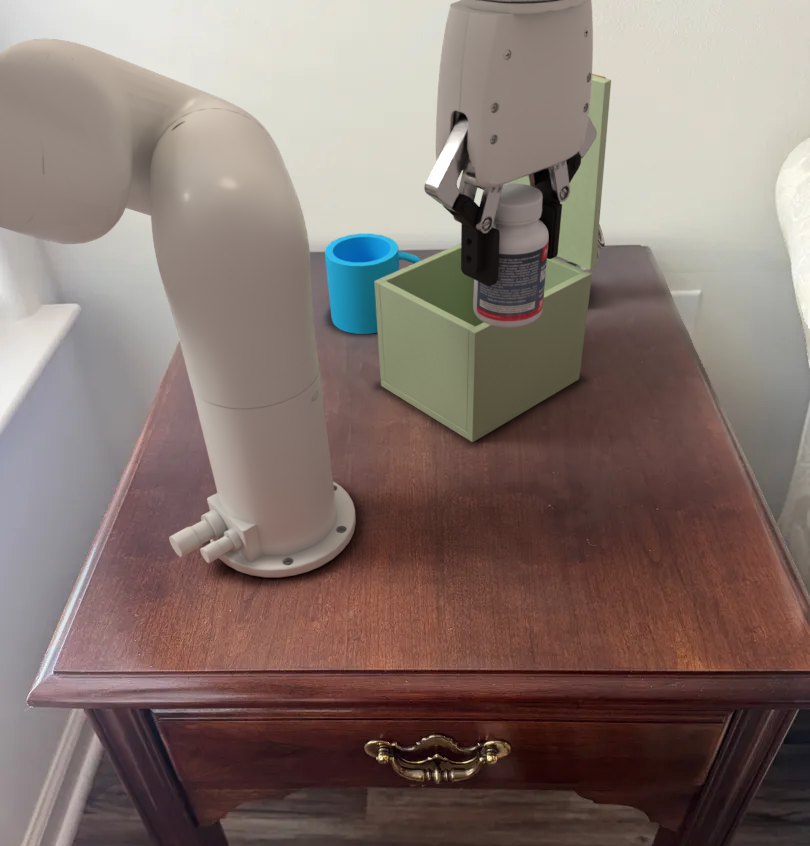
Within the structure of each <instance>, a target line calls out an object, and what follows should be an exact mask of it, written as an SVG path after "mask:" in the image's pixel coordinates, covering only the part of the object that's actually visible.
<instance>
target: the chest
mask: <svg viewBox="0 0 810 846" xmlns="http://www.w3.org/2000/svg"><path fill="white" fill-rule="evenodd" d="M566 262H567V261H563V260H562V259H560V258H557V257H554V258H552V259H547V264H546V275H545V288H544V301H543V310H542V314H541V315H540V317H539V318H538V319H537V320H535V321H534V322H532V323H530V324H527V325H524V326H520V327H497V326H493V325H489V324H487V323H485V322H483V321H481V320H480V319H479V318H478V317H477V316H476V315H475V313H474V310H473V293H474V279H473V278H471V277H469V276H467V275H465V274H463V272H462V270H461V242H460V243H458V244H456V245H453V246H451V247H449V248H446V249H444V250H442V251H439V252H437V253H435V254H433V255H431V256H428V257H426V258H424V259H422V260H421V261H419V262H417V263H415V264H414V263H411V264H410V265H408V266H406V267H403V268H401V269H399V271H396V272H394V273H392V274H389V275H387V276H385V277H383V278H380V279H378V280H376V281H375V297H376V313H377V329H378V333H377V342H378V357H379V359H378V360H379V374H380V386H381V387H382V388H384V389H386V390H387V391H389V392H390V393H392V394H394V395H395V396H397V397H399V398H400V399H401V400H403V401H405V402H407V403H408V404H410V405H411V406H413V407H415V408H416V409H418V410H419V411H421V412H422V413H424V414H426V415H427V416H429V417H431V418H432V419H434V420H436V421H437V422H439V423H440V424H442V425H444V426H445V427H447V428H449V430H452V431H453V432H455V433H457V434H458V435H459V436H461V437H463V438H464V439H466V440H467V441H469V442H471V443H474V442H476V441H477V440H479V439H481V438H483V437H484V436H486V435H488V434H489V433H491V432H493V431H495V430H496V429H498V428H499V427H501V426H503V425H505V424H507V423H508V422H510V421H511V420H513V419H515V418H516V417H518V416H520V415H521V414H523V413H525V412H526V411H529V410H530V409H531V408H534V406H537V405H538V404H540V403H541V402H543V401H545V400H547V399H548V398H550V397H552V396H554V395H555V394H556V393H558V392H560V391H562V390H563V389H565V388H567V387H569V386H571V385H572V384H573V383H576V382H577V381H579V379H580V375H581V374H580V373H581V367H582V360H583V359H582V358H583V350H584V343H585V336H586V335H585V334H586V327H587V319H588V311H589V302H590V295H591V285H592V280H593V279H592V278H593V273H592V272H590V271H585V270H583V269H581V268H578V267H576V266H574V265H571V264H569V263H566Z"/></svg>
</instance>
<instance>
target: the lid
mask: <svg viewBox="0 0 810 846" xmlns="http://www.w3.org/2000/svg"><path fill="white" fill-rule="evenodd" d="M611 89H612V79H609V78H607V77H606V76H604V75H598V74H596V73H592V82H591V97H590V108H589V117H590V119H591V121H592V123H593V125H594V127H595V129H596V131H597V136H596V139H595V141H594V142H593V144H592V145H591V147H590V148H589V150H588V151H587V153H586V154H585V156H584V157H583V159H582V158H581V164H580V167H579V169H578V170H577V172H576V174H575V175H574V177H573V178H572V180H571V182H570V183H569V184H570V194H569V196H568V198H567V199H566V200H565V201H564V202H560V204H562V212H561V223H560V234H559V245H558V254H557V256H556V257H558V258H559V259H563V260H566V262H572V263H575V264H577V265H580V266H582V267H584V268H587V269H589V271H591V270H593V269H594V268H596V267H597V262H596V256H597V244H598V232H599V224H600V218H601V207H602V196H603V182H604V172H605V171H604V170H605V161H606V159H605V158H606V148H607V134H608V122H609V111H610V99H611ZM513 183H515V184H525V185H530V181H529V175H528V176H525V177H522V178H520V179H517V180H514V181H512V182H509V183H506V184H513Z"/></svg>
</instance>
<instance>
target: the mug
mask: <svg viewBox="0 0 810 846" xmlns="http://www.w3.org/2000/svg"><path fill="white" fill-rule="evenodd" d="M324 249H325V250H324V258H325V259H324V260H325V268H326V278H327V288H328V294H329V295H328V297H329V307H330V317H331V321H332V323H333V325H334V326H335V327H336V328H337V329H338V330H341V331H343V332H345V333H350V334H355V335H370V334H378V329H377V313H376V297H375V281H376V280H378V279H380V278H383V277H385V276H387V275H389V274H392V273H394V272H396V271H399V270H400V261H405V262H409V263H411V264H415V263H417V262H419V261H421V260H423V259H422V258H420V257H419V256H417V255H415V254H412V253H410V252H406V251H399V250H400V249H399V246H398V243H397V242H396V241H395V240H393V239H392V238H390V237H389V236H385V235H382V234H378V233H377V234H376V233H354V234H348V235H345V236H341V237H338V238H337V239H334V240H332V241H331V242H330V243H329V244H328V245H326V247H325V248H324Z"/></svg>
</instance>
